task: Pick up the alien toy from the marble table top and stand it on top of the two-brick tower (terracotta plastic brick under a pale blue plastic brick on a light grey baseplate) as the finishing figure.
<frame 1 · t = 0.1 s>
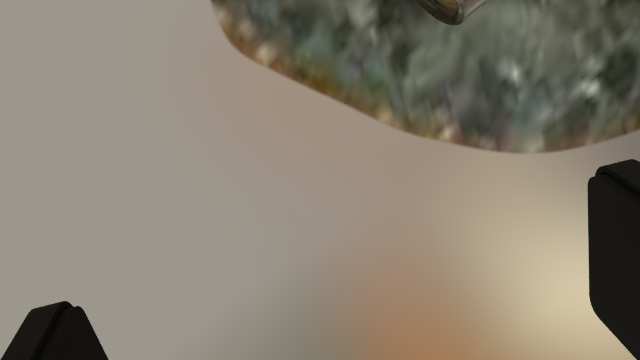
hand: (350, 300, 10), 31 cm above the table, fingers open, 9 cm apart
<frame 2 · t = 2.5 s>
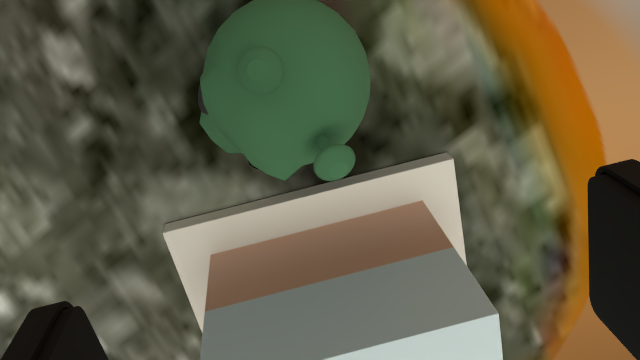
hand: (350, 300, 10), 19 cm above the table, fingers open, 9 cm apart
brick tower: (336, 302, 34), on the table
alien toy: (275, 63, 28), on the table
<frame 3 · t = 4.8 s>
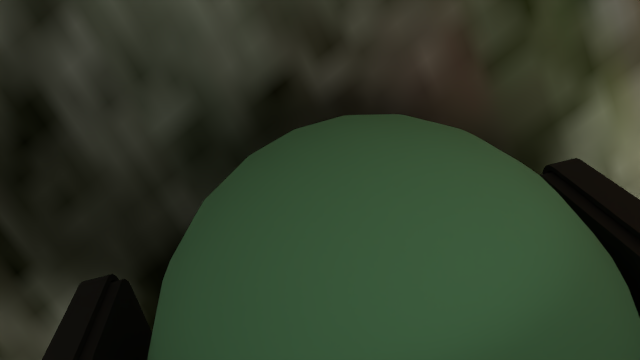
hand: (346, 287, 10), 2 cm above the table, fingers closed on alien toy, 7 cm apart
alien toy: (329, 221, 13), on the table, touching gripper
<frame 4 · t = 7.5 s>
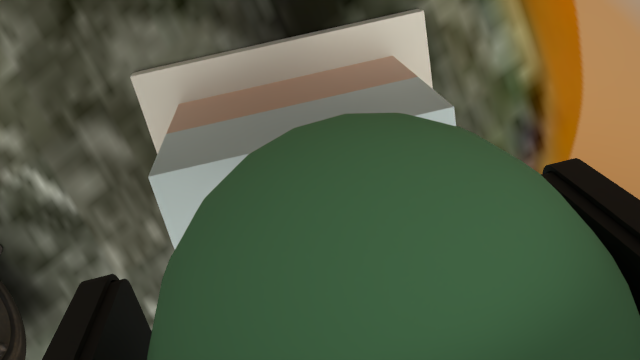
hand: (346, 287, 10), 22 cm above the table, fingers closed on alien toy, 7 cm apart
brick tower: (307, 170, 34), on the table
alien toy: (329, 220, 13), point 20 cm above the table, touching gripper
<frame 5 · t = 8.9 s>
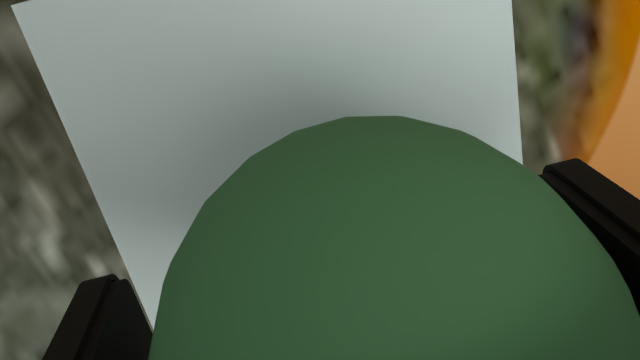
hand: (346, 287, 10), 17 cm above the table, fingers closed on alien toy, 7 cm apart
brick tower: (289, 79, 26), on the table
alien toy: (329, 222, 13), point 14 cm above the table, touching gripper
when the fingers open (15 cm above the table, at t = 10.2 s): alien toy drops 1 cm, resting on brick tower.
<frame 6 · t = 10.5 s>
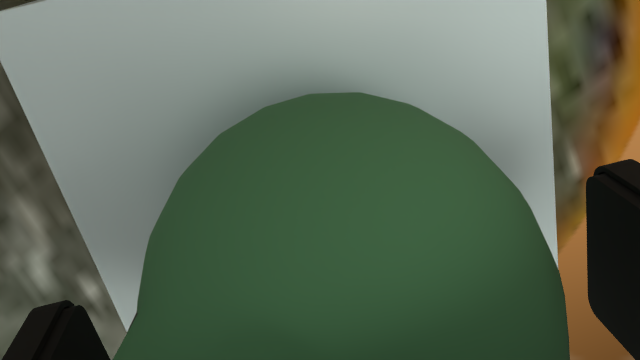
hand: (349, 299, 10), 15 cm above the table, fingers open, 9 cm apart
brick tower: (293, 90, 24), on the table
alien toy: (306, 196, 14), point 11 cm above the table, touching brick tower
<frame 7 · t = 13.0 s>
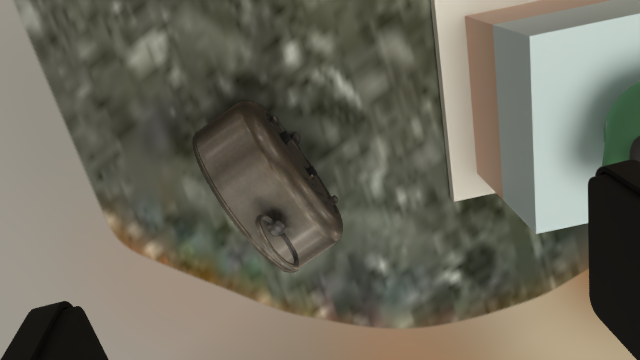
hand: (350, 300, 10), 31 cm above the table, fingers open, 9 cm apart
alarm clock: (273, 148, 42), on the table
brick tower: (544, 79, 42), on the table
alien toy: (626, 119, 32), point 11 cm above the table, touching brick tower
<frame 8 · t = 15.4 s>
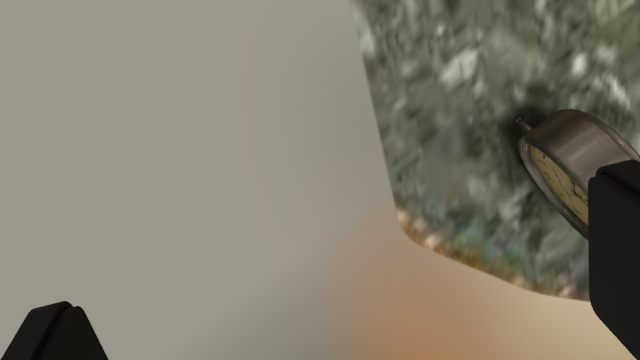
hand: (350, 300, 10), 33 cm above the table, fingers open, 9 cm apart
alarm clock: (548, 147, 47), on the table
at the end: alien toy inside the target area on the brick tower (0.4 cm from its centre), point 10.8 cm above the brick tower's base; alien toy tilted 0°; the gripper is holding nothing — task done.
